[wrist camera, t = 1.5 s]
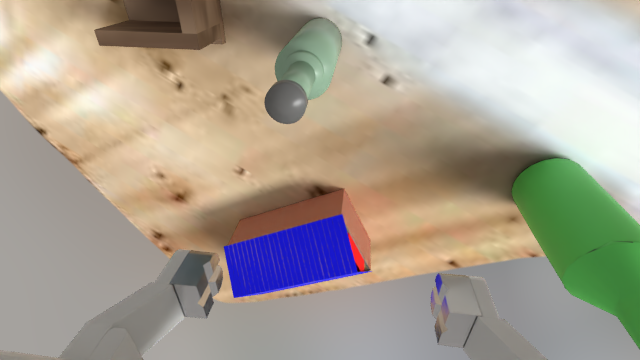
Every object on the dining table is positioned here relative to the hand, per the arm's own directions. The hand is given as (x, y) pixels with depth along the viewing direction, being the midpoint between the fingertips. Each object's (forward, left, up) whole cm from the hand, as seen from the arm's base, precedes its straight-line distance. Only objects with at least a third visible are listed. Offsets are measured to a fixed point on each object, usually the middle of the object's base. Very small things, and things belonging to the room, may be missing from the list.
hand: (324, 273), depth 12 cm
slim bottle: (-1, -4, -32) cm, 32 cm away
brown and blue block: (+29, -6, -33) cm, 44 cm away
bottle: (+16, +27, -32) cm, 45 cm away
